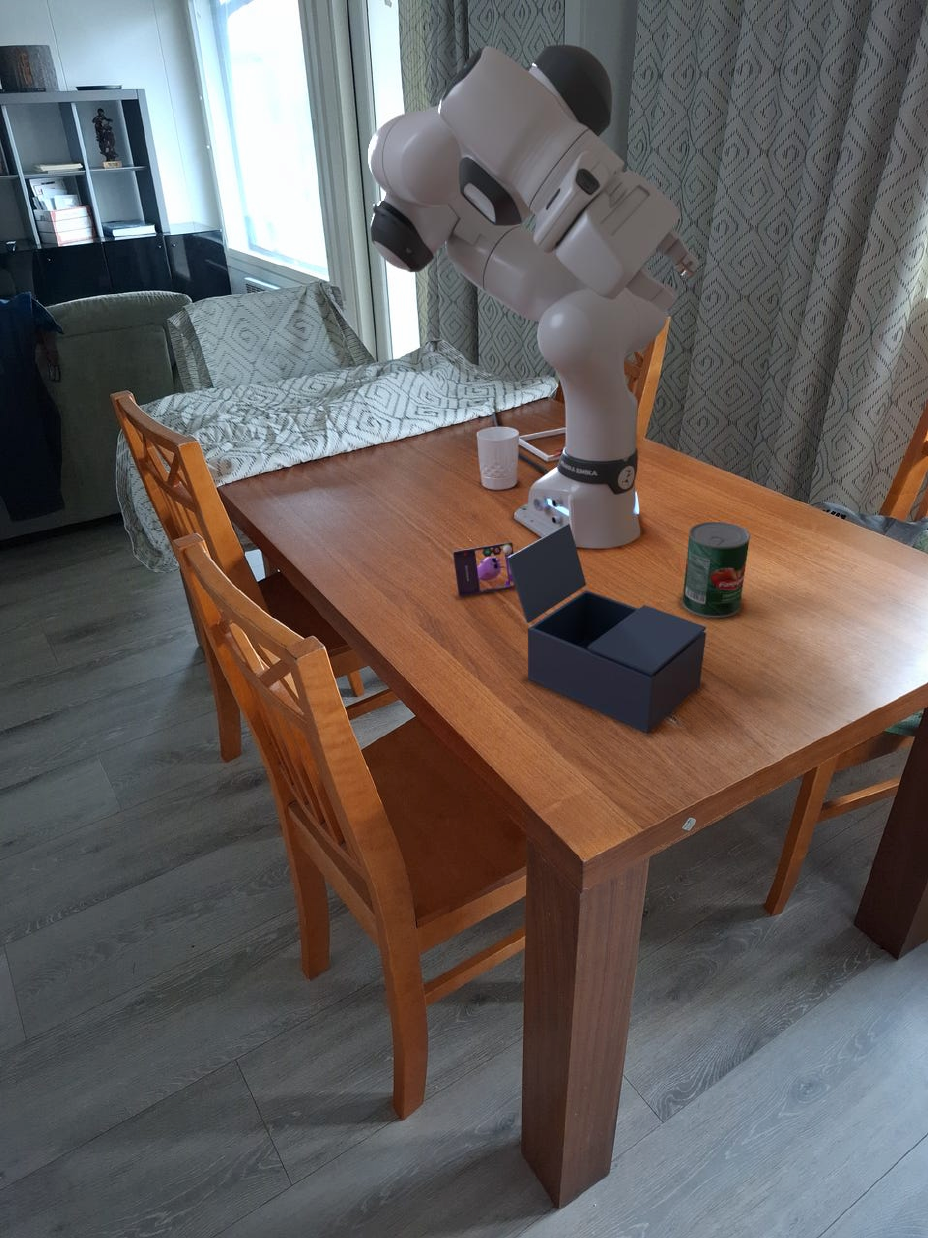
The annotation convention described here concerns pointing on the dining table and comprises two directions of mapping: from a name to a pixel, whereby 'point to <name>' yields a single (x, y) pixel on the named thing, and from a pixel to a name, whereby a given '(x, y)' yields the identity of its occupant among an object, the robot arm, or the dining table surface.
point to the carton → (617, 658)
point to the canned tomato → (715, 569)
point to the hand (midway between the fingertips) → (683, 287)
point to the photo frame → (539, 435)
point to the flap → (546, 572)
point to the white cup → (498, 457)
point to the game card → (480, 568)
